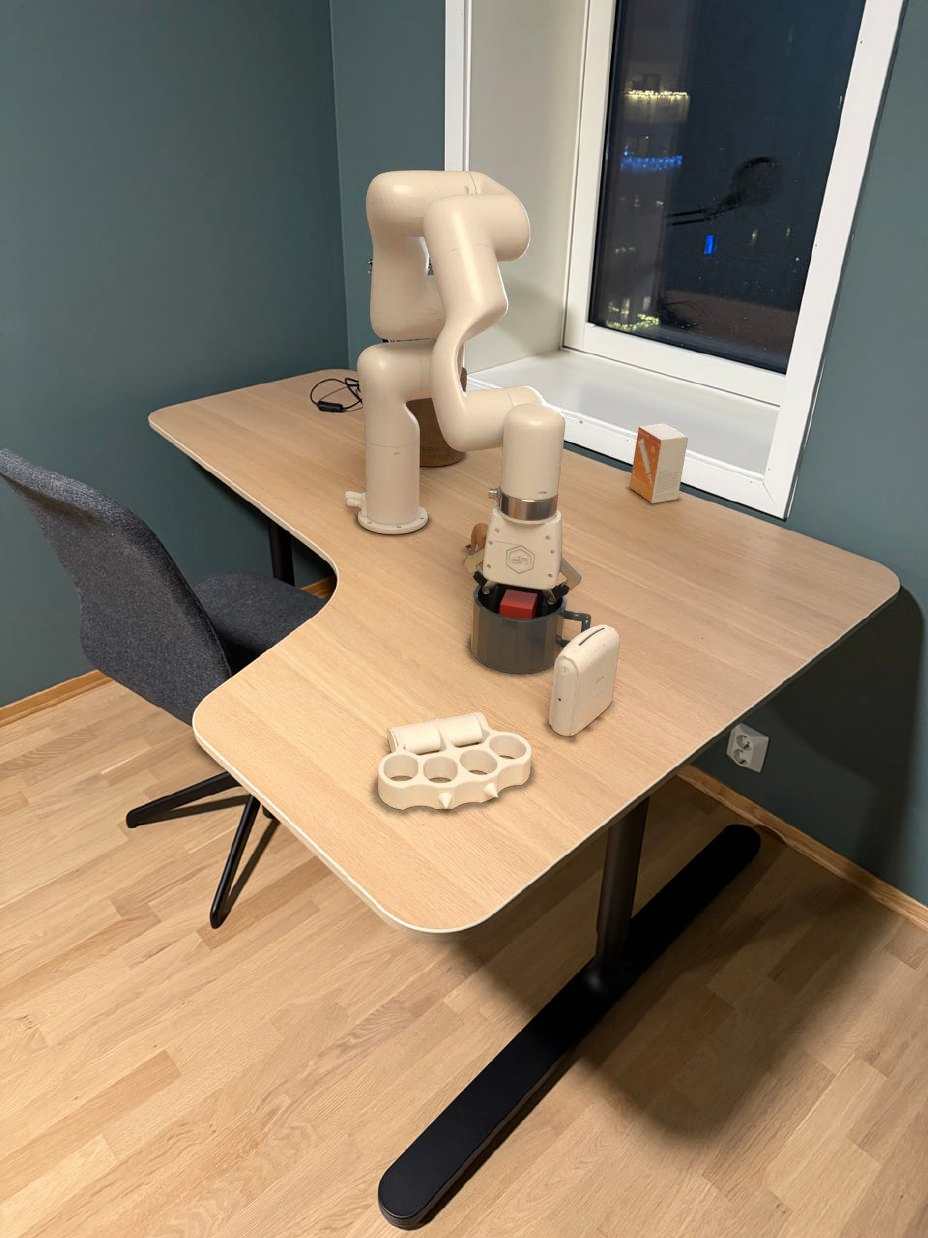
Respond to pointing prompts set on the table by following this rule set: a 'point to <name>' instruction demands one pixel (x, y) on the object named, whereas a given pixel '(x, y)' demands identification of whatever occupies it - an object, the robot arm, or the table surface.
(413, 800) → the knuckle duster
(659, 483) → the small box
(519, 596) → the red block
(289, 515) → the table surface
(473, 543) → the lion figurine
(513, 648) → the dark gray mug
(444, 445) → the wooden container
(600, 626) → the photo printer
